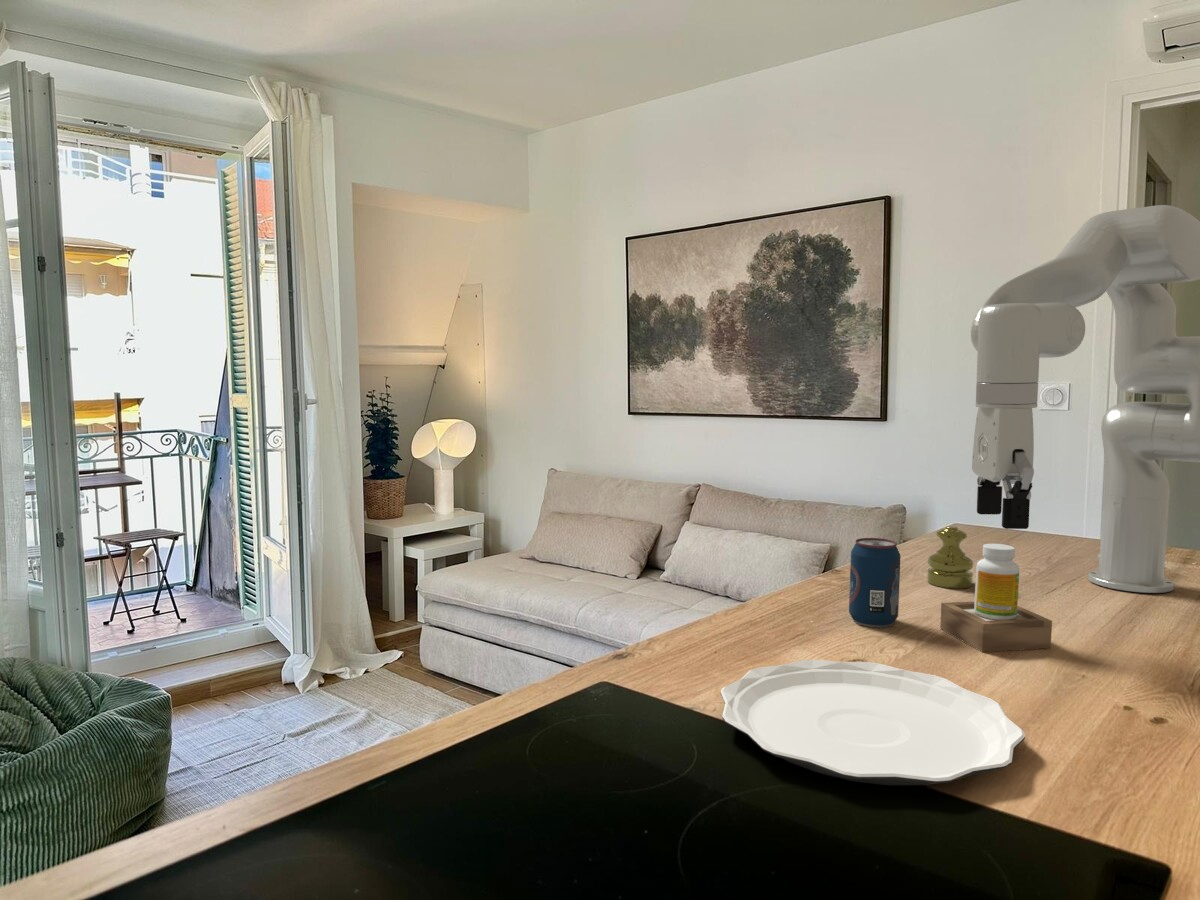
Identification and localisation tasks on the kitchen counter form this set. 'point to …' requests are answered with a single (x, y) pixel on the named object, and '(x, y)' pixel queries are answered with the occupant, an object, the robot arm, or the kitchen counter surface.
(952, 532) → the green chess piece
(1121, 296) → the robot arm
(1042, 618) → the picture frame
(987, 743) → the plate
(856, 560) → the soda can
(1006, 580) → the supplement bottle
